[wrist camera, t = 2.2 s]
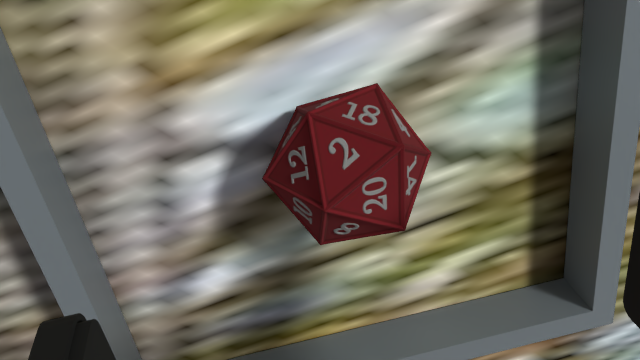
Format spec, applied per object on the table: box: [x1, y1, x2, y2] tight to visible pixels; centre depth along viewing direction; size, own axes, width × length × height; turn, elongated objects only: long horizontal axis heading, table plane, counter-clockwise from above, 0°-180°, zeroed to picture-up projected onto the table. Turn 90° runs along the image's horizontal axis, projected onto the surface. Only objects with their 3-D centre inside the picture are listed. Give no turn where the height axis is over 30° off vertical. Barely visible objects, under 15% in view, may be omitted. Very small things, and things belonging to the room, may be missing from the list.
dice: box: [262, 83, 431, 245], centre depth 15 cm, size 4×4×4 cm
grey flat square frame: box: [0, 0, 640, 360], centre depth 16 cm, size 17×17×2 cm
